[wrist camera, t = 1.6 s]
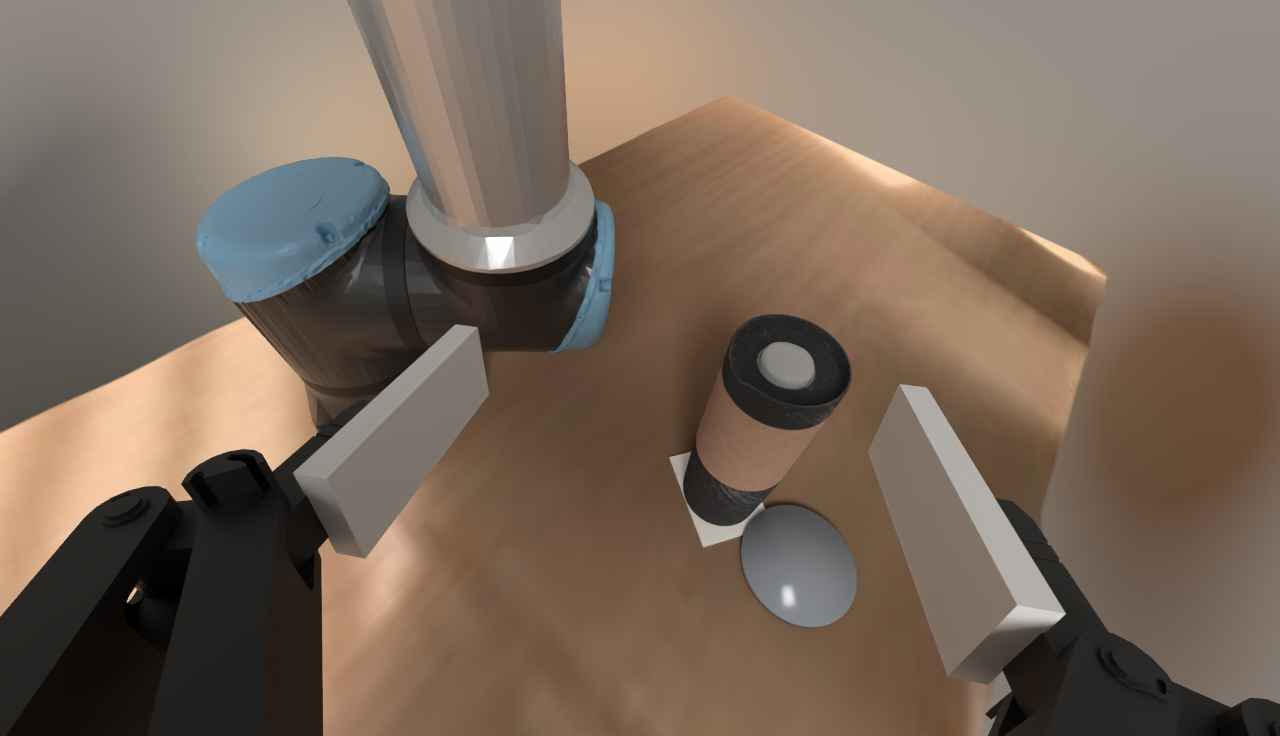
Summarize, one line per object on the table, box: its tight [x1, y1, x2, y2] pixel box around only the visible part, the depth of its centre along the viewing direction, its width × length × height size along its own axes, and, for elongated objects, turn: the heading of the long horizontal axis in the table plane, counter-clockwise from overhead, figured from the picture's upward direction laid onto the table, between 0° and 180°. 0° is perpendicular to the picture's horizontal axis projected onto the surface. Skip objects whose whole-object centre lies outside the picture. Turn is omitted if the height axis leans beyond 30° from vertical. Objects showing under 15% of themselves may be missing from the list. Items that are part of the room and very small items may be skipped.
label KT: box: [669, 452, 765, 547], centre depth 43 cm, size 9×7×1 cm
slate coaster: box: [740, 505, 857, 628], centre depth 39 cm, size 10×10×1 cm
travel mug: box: [683, 314, 852, 526], centre depth 35 cm, size 8×8×20 cm
